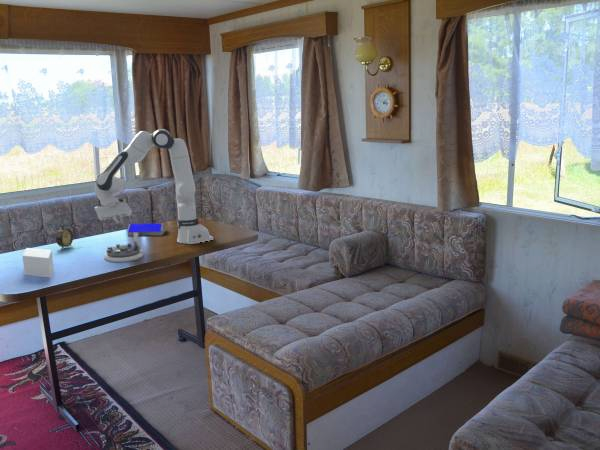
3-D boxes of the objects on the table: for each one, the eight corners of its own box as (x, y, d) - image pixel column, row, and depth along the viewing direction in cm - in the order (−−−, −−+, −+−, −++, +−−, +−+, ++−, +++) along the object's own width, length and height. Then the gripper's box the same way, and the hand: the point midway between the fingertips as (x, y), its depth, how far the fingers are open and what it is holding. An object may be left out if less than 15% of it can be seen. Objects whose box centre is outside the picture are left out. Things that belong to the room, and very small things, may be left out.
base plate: (141, 250, 320) (140, 239, 319) (145, 259, 301) (144, 248, 299) (103, 254, 313) (102, 243, 311) (104, 263, 294) (103, 252, 292)
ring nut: (146, 252, 307) (145, 233, 305) (118, 259, 294) (116, 239, 291) (128, 247, 319) (126, 228, 316) (100, 253, 305) (98, 234, 303)
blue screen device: (165, 231, 369) (165, 220, 367) (161, 236, 355) (160, 225, 353) (133, 232, 368) (132, 221, 366) (127, 236, 354) (126, 225, 353)
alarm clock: (63, 250, 321) (60, 224, 317) (55, 250, 322) (52, 223, 318) (74, 246, 331) (71, 220, 328) (66, 245, 332) (63, 219, 329)
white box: (35, 281, 267) (33, 261, 264) (14, 269, 287) (12, 250, 284) (65, 274, 277) (63, 255, 275) (42, 263, 297) (40, 245, 294)
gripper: (94, 203, 313) (104, 222, 308) (127, 198, 327) (136, 216, 323) (91, 210, 317) (101, 229, 312) (124, 205, 331) (133, 223, 327)
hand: (119, 222), depth 318 cm, fingers closed
